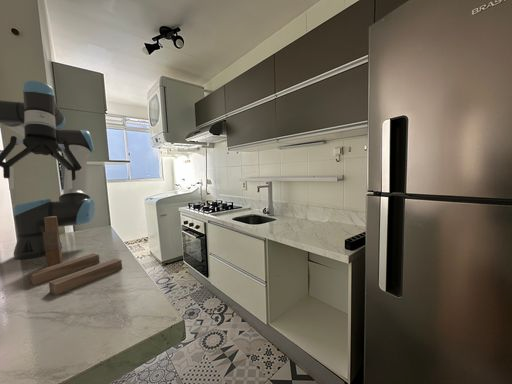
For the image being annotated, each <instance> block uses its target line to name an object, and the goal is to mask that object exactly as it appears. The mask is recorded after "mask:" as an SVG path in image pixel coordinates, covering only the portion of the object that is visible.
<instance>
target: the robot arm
mask: <svg viewBox="0 0 512 384" xmlns="http://www.w3.org/2000/svg"><path fill="white" fill-rule="evenodd" d="M22 94H23V102H21V101H12V100H10V101H9V100H0V124H1V125H3V126H4V127H7V128H8V129H10V130H12V131H14V132H15V133H17V134H18V135H20V136H21V137H23V138H19V137H17V136H15V135H12V136H10V139H9V143H8V144H7V145H6V147H5V148H4V149H3V150H2V151H1V153H0V167H1V168H2V171H3V172H2V173H3V178H4V179H8V184H9V185H8V186H9V188H8V189H9V190H11V191H13V190H14V189H15V176H14V174H15V173H14V164H16V163H18V162H19V161H20V160H22V159H24V158H25V157H26V156H28V155H29V154H33V155H43V156H51V157H53V158H54V159H55V160H56V161H58V162H59V163H60V164H61V165H62V166H63V167H64V179H63V180H64V181H63V193H62V194H60V195H59V197H58V201H57V200H56V201H52V200H51V198H47V199H46V198H45V199H40V200H33V201H28V202H27V201H26V202H23V203H18V204H16V205H15V206H14V207H13V214H14V215H13V217H14V223H15V230H16V234H17V240H16V244H15V247H14V249H13V258H14V259H16V260H26V259H27V260H28V259H34V258H38V257H39V258H40V257H43V256H46V253H45V252H46V251H45V246H44V239H43V232H45V231H46V230H45V222H44V218H45V217H50V216H57V221H58V228H60V227H61V228H62V227H71V226H80V225H85V224H90V223H91V222H92V220H93V219H94V216H95V210H96V209H95V201H94V199H93V198H91V196H90V195H89V194H88V193H87V188H88V187H87V186H88V185H87V184H88V183H87V180H88V178H87V177H88V173H87V172H88V170H87V169H88V157H90V156H91V153H94V152H95V147H94V142H93V138H92V136H91V133H90V131H88V130H85V129H83V130H82V129H62V128H63V127H64V126H65V125H66V122H67V121H66V118H65V115H64V113H63V112H62V110H61V109H60V108H59V106H58V104H57V102H56V100H55V97H56V95H55V92H54V88H53V87H52V86H50V85H49V84H48V83H45V82H42V81H40V80H39V81H38V80H27V81H25V82H24V83H23V89H22ZM20 144H23V145H24V147H25V148H24V149H23V150H21V151H19V152H18V153H17V154H16V155H14V156H12V157H11V158H9V159H8V160H6V161H5V159H6V158H7V157H8V156H9V154H10V153H11V152H12V151H13V150H14V148H15V147H16V146H19V145H20ZM60 152H62V154H64V156H65V157H64V156H63V155H62V154H60ZM60 245H61V250H63V243H62V242H61V241H60Z"/></svg>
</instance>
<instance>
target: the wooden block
mask: <svg viewBox="0 0 512 384" xmlns="http://www.w3.org/2000/svg"><path fill="white" fill-rule="evenodd" d="M44 222H45V230H46V231H45V232H43V239H44V246H45V251H46V252H45V253H46V255H45V260H46V268H47V267H51V266H54V265H57V264H60V263H63V254H62V249H61V245H60V242H61V240H60V239H61V237H60V230H59V227H58V221H57V216H50V217H45V218H44Z"/></svg>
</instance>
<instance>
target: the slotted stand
mask: <svg viewBox="0 0 512 384" xmlns="http://www.w3.org/2000/svg"><path fill="white" fill-rule="evenodd" d="M122 263H123V262H122V259H118V258H112V259H109V260H105V261H103V262H100V255H99V254H97V253H92V252H91V253H90V254H87V255H83V256H80V257H76V258H73V259H70V260H67V261H64V262H63V261H62V263H60V264H57V265H54V266H51V267H47V266H46V267H44V268H42V269H38V270H35V271H32V272H28V274H27V275H28V281H29V284H31V285H33V286H37V285H39V284H42V283H45V282H48V287H49V293H51V294H52V295H55V296H59V295H61V294H62V293H66V292H68V291H71V290H72V289H75V288H77V287H80V286H82V285H85V284H88V283H90V282H93V281H94V280H97V279H99V278H102V277H104V276H107V275H110V274H112V273H114V272H116V271H119V270H122V269H123V264H122Z"/></svg>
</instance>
